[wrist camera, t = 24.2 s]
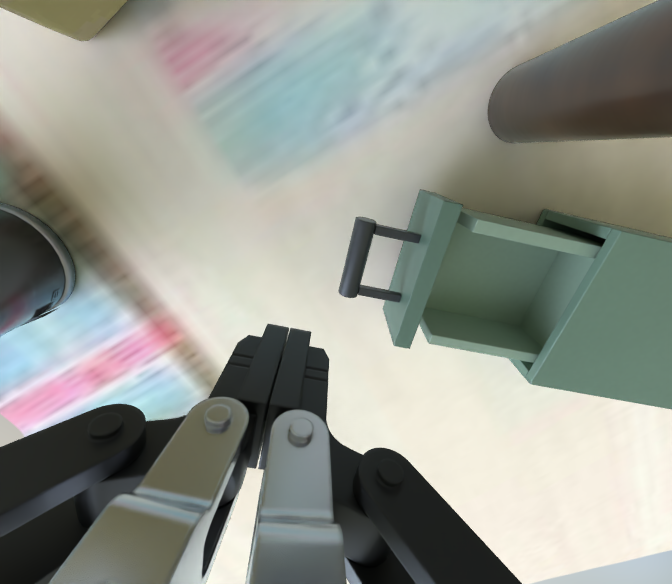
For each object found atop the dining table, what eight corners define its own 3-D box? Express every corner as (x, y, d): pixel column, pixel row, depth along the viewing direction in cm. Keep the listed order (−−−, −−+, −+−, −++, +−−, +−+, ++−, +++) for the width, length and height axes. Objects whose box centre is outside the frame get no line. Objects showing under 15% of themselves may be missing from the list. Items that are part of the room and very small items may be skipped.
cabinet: (485, 330, 29) (529, 384, 22) (543, 208, 24) (621, 230, 18) (614, 355, 30) (694, 413, 23) (693, 243, 26) (821, 276, 19)
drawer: (332, 298, 27) (331, 334, 22) (360, 175, 23) (368, 183, 17) (514, 334, 28) (554, 375, 23) (572, 224, 24) (637, 244, 19)
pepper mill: (475, 97, 21) (765, -13, 7) (542, 44, 20) (1065, -224, 6) (505, 157, 23) (793, 170, 8) (569, 111, 22) (1034, 34, 7)
